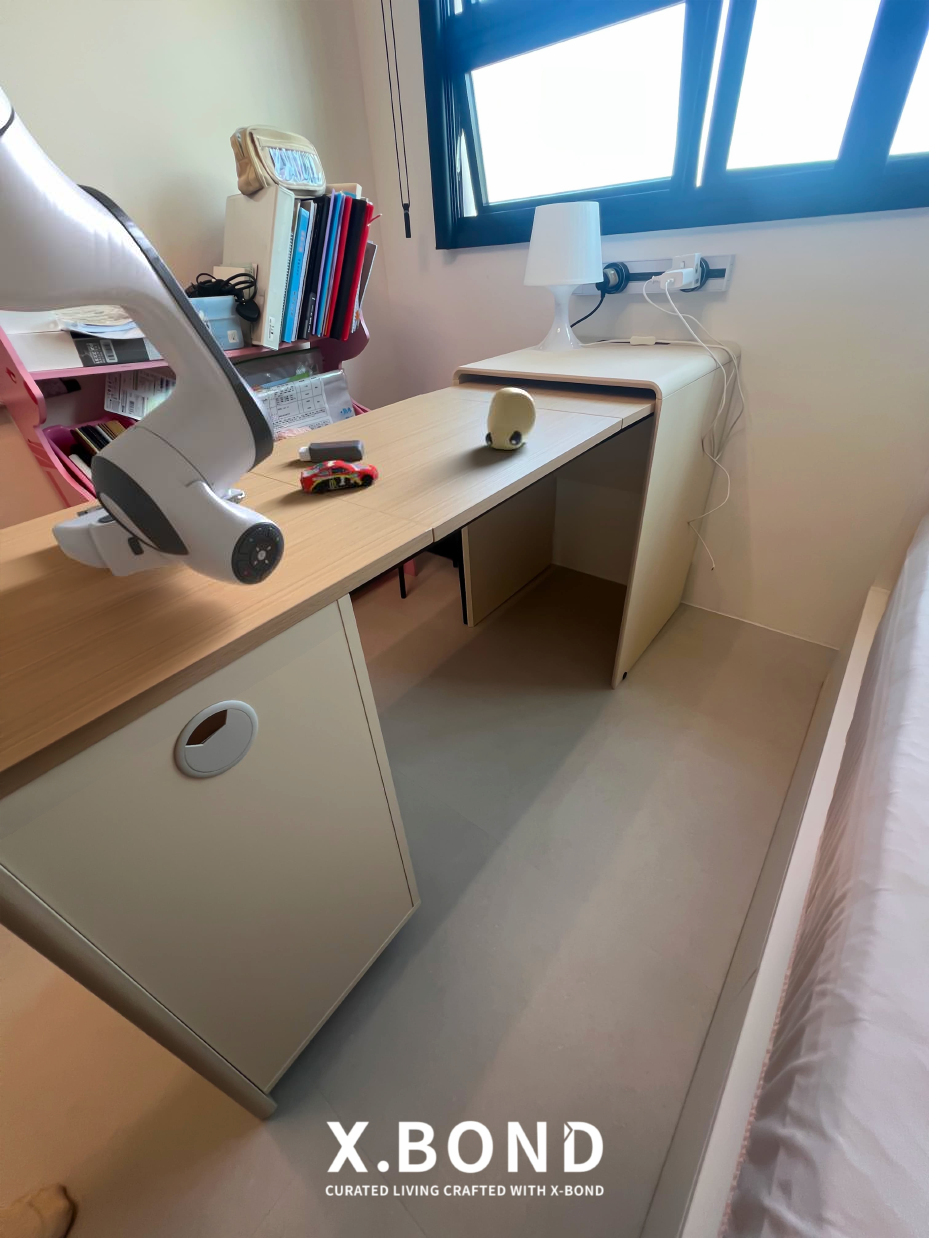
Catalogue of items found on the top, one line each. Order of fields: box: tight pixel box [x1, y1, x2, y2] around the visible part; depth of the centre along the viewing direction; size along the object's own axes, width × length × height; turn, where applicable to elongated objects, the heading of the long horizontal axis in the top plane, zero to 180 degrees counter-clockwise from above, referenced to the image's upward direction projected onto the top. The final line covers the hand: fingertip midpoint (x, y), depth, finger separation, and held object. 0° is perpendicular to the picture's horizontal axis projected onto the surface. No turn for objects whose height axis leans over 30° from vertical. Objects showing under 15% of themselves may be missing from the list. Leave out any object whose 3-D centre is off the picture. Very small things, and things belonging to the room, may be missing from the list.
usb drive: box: [298, 439, 365, 464], centre depth 99 cm, size 5×12×3 cm, turn 95°
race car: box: [299, 460, 379, 494], centre depth 86 cm, size 13×5×4 cm, turn 109°
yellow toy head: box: [484, 387, 537, 451], centre depth 99 cm, size 10×12×11 cm
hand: (122, 503), depth 67 cm, fingers closed on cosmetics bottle, 6 cm apart
